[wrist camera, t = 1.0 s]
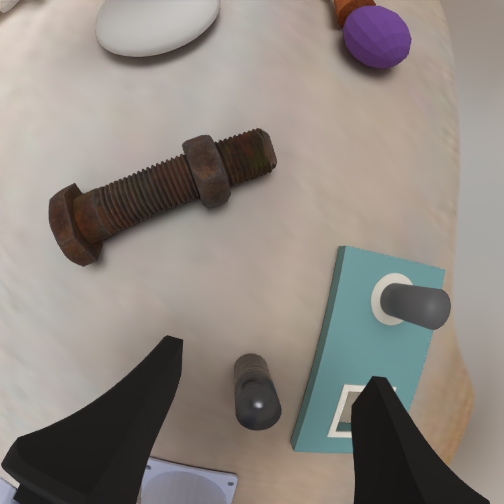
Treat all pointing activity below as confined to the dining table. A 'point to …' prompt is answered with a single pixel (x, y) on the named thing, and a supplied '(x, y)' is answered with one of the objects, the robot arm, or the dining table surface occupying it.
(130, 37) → the flower in vase
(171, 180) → the bolt
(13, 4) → the piggy bank
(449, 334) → the dining table surface
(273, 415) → the pin
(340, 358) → the pin board
